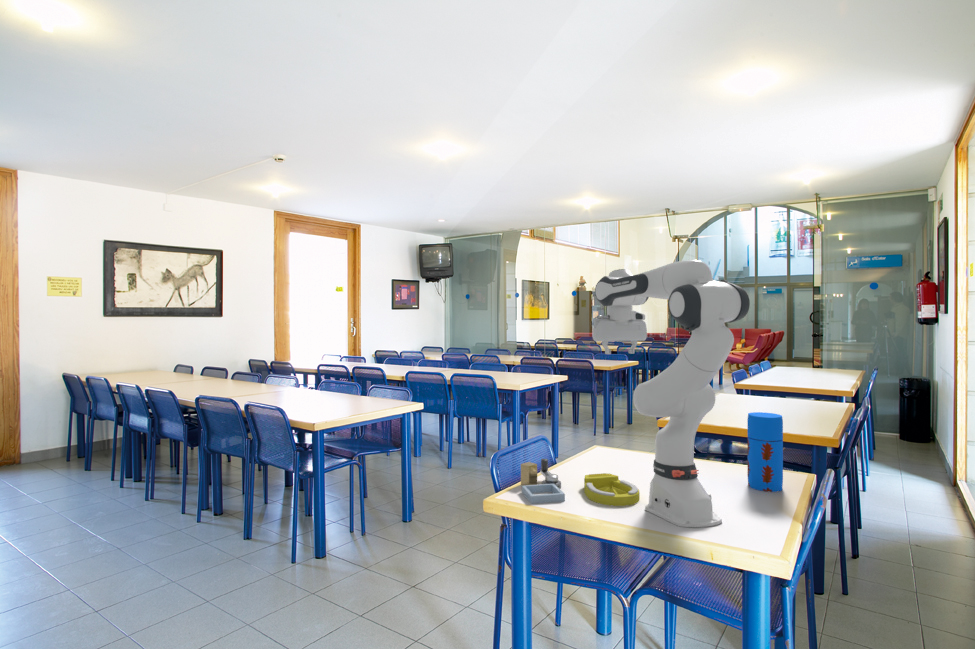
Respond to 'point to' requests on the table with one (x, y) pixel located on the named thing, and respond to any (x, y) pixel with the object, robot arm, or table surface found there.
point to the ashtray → (610, 490)
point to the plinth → (554, 483)
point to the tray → (543, 498)
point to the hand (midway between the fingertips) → (619, 353)
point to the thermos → (765, 451)
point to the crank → (547, 472)
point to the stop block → (528, 473)
